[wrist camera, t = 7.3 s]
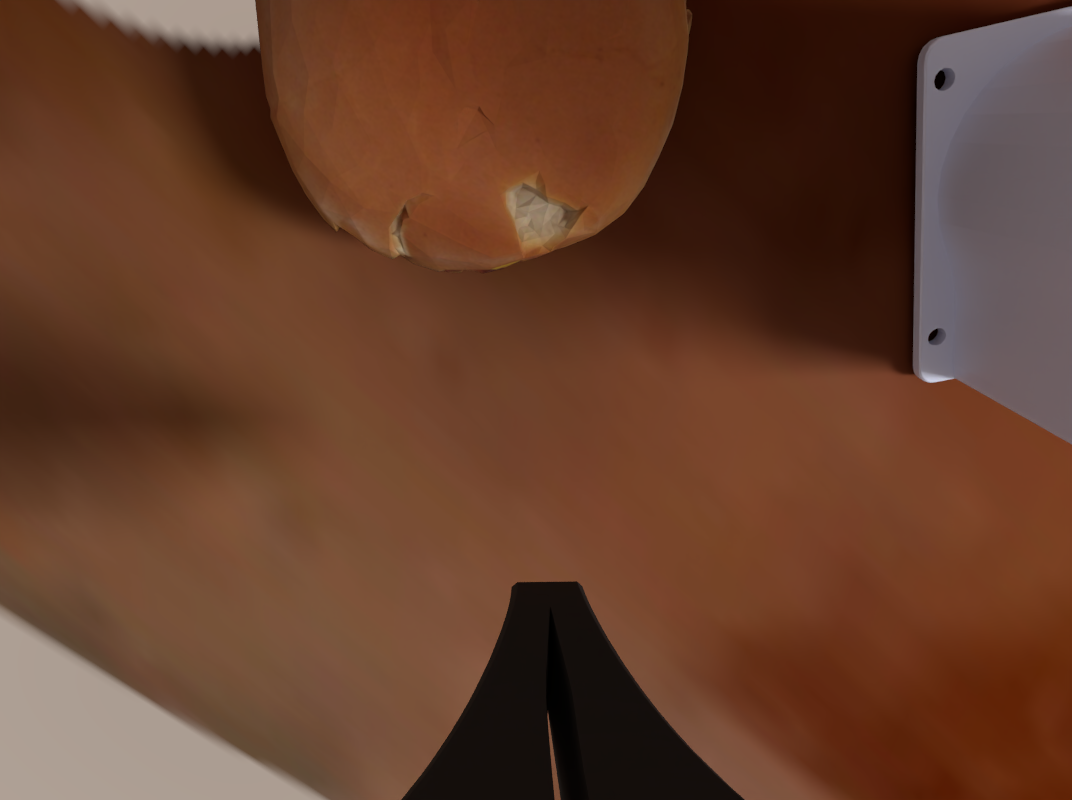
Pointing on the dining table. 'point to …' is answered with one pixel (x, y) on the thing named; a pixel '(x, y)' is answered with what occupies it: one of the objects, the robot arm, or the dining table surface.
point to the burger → (472, 117)
